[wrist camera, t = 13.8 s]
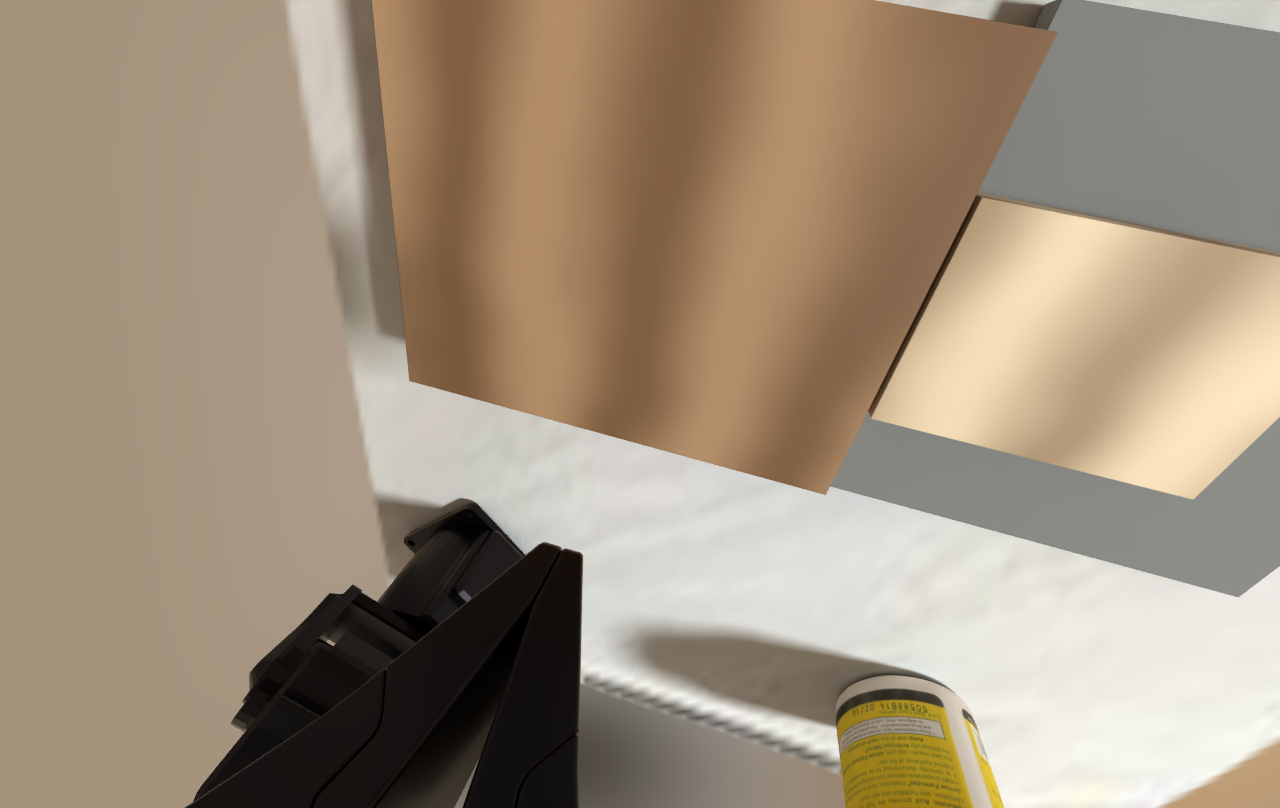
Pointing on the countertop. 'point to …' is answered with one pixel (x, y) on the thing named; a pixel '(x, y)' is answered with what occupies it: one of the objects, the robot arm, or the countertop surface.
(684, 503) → the countertop surface
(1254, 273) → the birch tile
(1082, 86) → the slate mat
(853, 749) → the supplement bottle
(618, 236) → the walnut board
